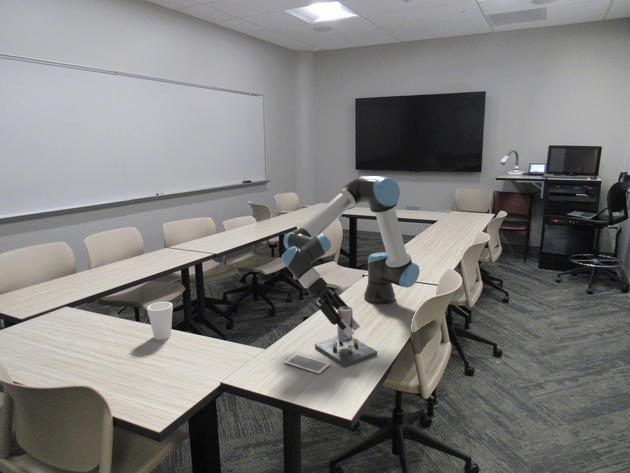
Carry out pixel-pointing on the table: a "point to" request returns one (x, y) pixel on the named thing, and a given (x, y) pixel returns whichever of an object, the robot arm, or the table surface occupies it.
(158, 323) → the foam cup
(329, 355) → the standoff plate
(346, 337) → the energy drink
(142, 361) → the table surface
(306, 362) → the touchpad
